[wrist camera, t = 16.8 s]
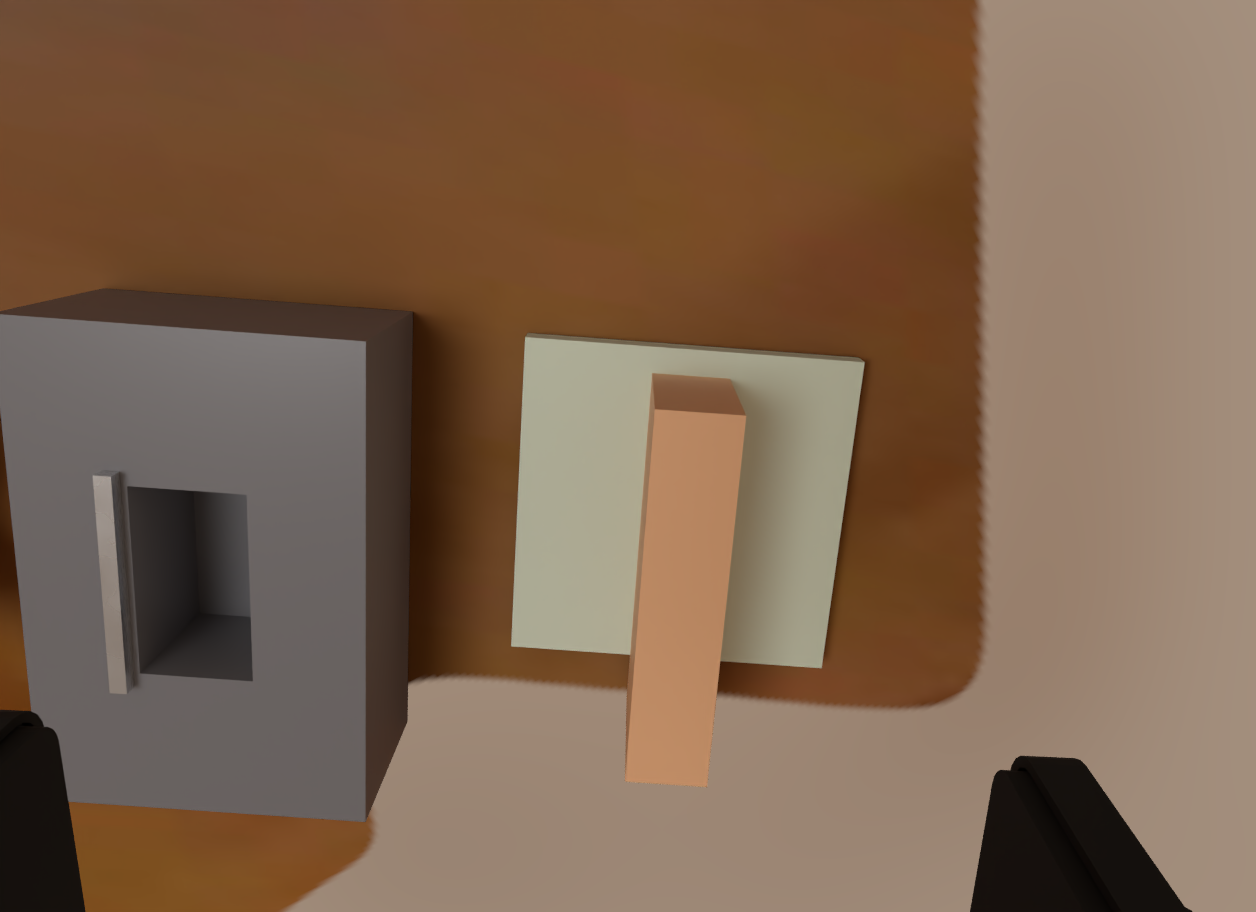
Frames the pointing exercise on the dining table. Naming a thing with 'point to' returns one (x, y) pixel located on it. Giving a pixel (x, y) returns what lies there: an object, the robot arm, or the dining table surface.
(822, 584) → the mat
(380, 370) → the dispenser
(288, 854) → the dining table surface
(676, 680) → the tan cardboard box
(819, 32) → the dining table surface
